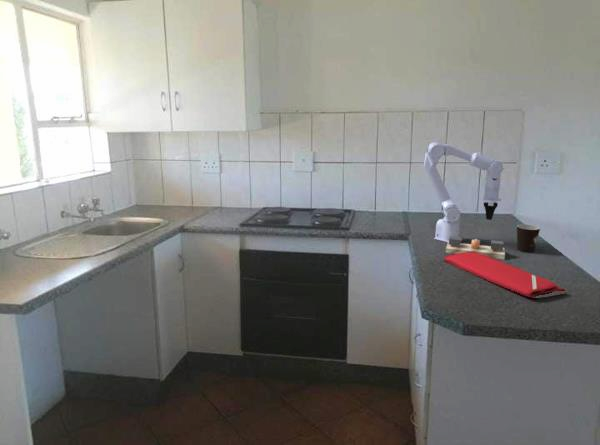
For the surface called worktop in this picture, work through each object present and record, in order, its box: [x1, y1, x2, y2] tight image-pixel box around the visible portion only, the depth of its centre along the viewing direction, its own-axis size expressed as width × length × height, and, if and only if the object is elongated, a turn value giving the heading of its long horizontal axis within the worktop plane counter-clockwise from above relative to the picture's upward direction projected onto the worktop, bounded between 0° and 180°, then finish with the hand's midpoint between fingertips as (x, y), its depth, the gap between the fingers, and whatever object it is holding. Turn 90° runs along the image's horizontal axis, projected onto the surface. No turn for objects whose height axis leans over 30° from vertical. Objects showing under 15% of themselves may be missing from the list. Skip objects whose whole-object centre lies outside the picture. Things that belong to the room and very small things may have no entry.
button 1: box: [449, 236, 462, 246], centre depth 192 cm, size 4×4×2 cm
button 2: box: [490, 239, 504, 250], centre depth 186 cm, size 4×4×2 cm
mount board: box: [445, 242, 506, 260], centre depth 190 cm, size 22×10×3 cm, turn 68°
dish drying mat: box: [443, 252, 566, 299], centre depth 163 cm, size 16×41×4 cm, turn 21°
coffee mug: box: [516, 224, 541, 254], centre depth 193 cm, size 12×9×10 cm
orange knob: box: [470, 238, 481, 249], centre depth 189 cm, size 3×3×3 cm
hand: (488, 219), depth 202 cm, fingers closed
